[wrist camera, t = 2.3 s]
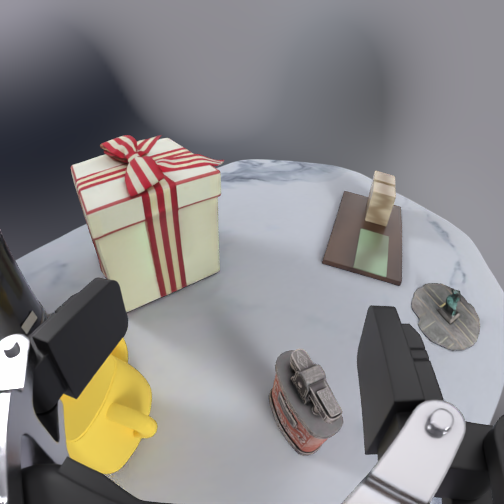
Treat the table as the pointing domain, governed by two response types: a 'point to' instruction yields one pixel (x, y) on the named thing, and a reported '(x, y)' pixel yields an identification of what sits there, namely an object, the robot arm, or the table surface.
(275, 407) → the lighter
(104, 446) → the teapot
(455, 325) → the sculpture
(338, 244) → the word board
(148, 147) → the gift box
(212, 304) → the table surface
